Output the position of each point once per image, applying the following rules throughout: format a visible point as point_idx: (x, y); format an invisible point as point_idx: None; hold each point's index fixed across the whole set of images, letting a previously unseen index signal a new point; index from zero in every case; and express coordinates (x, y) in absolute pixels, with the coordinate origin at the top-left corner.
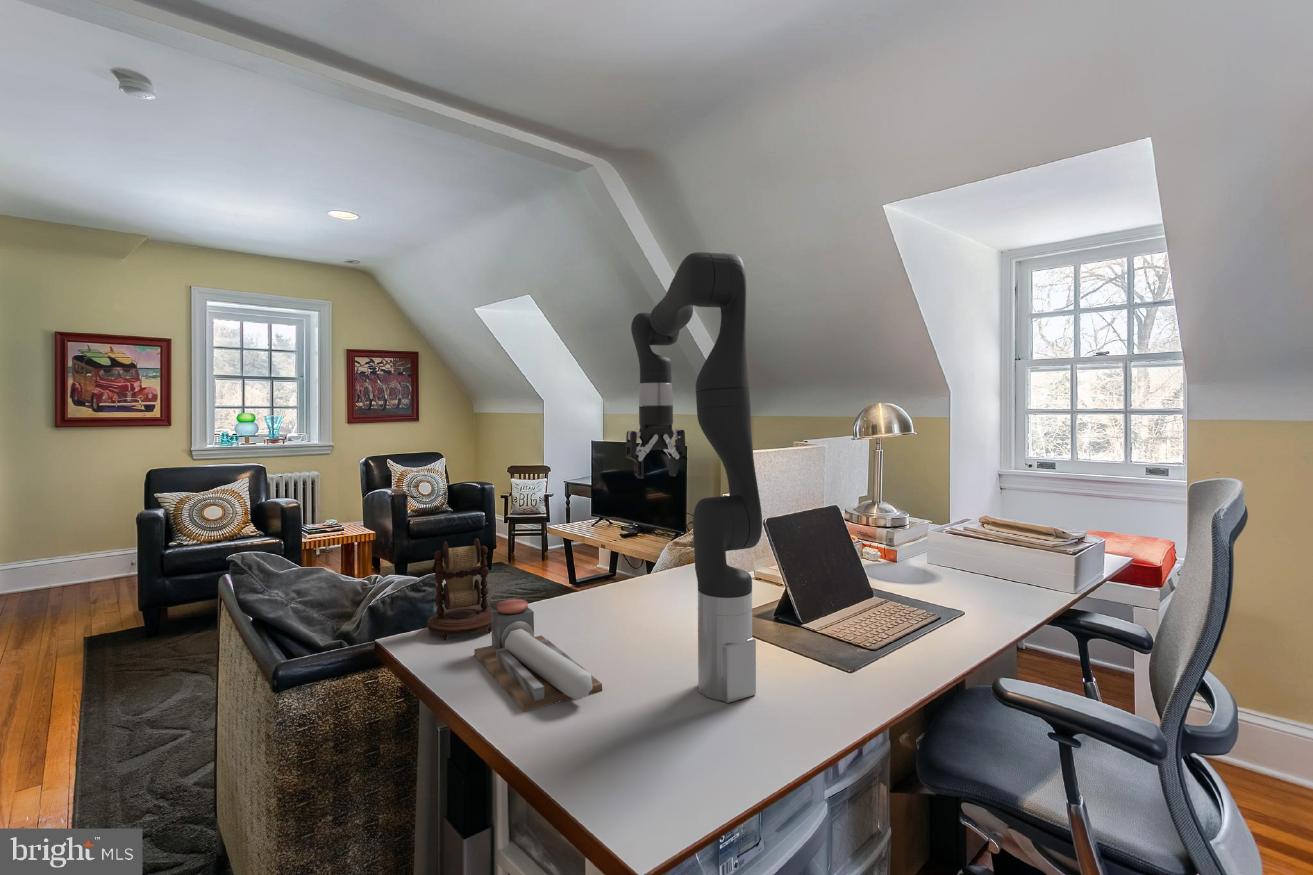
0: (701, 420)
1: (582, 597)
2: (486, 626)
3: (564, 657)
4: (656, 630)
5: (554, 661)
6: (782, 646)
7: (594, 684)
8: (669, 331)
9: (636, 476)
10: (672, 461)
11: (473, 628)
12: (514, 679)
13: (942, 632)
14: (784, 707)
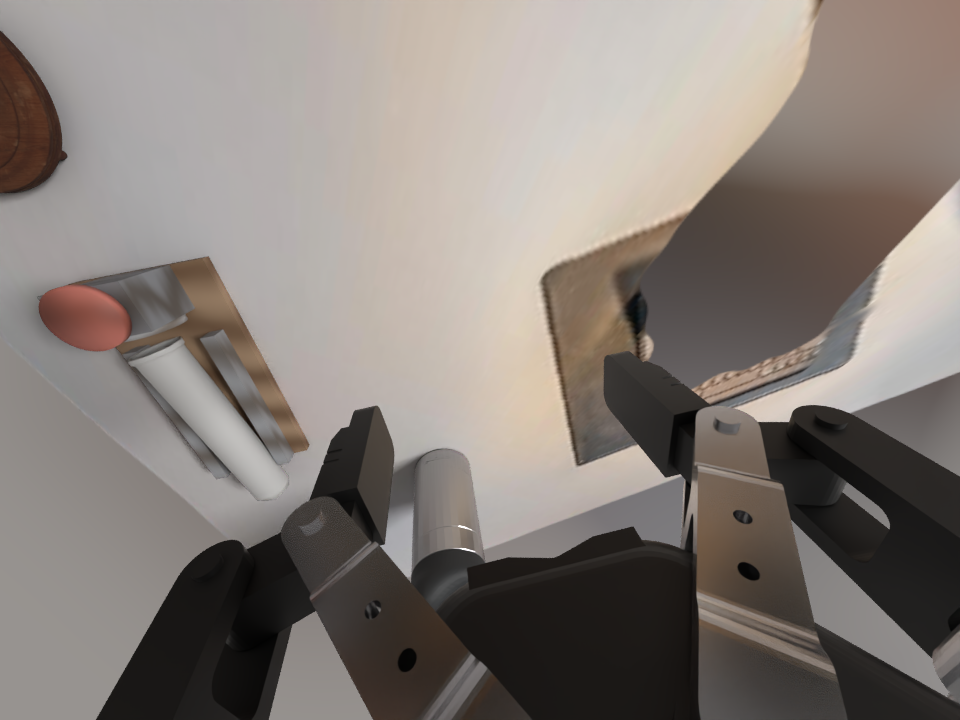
0: None
1: None
2: (43, 174)
3: (244, 458)
4: (432, 279)
5: (230, 470)
6: (566, 393)
7: (297, 449)
8: None
9: (355, 413)
10: (658, 451)
11: (12, 190)
12: None
13: (752, 408)
14: (476, 504)
